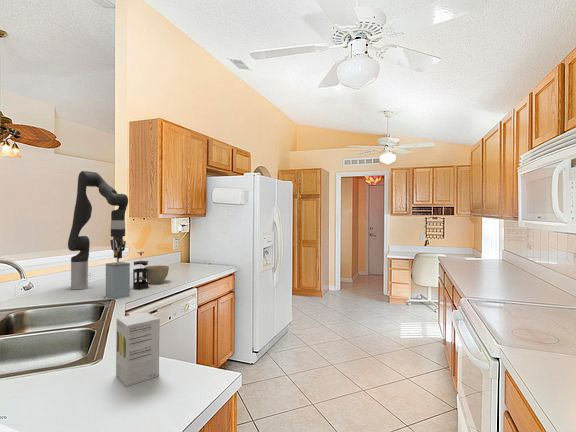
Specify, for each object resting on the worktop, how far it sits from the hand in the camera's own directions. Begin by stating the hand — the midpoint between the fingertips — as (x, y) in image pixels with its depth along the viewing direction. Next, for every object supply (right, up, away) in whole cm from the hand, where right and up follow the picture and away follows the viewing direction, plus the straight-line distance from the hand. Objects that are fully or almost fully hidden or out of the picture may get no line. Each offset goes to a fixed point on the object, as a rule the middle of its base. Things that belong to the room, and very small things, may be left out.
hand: (117, 257), depth 187 cm
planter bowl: (+7, -23, +39) cm, 45 cm away
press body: (0, -22, 0) cm, 22 cm away
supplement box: (+54, -23, -92) cm, 109 cm away
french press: (+3, -22, +23) cm, 32 cm away
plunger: (0, -20, 0) cm, 20 cm away
